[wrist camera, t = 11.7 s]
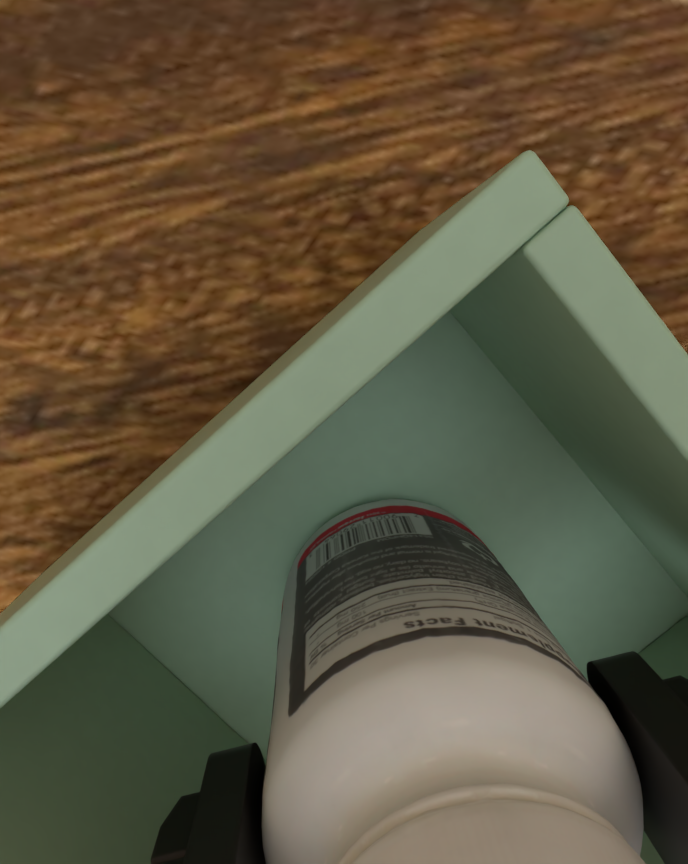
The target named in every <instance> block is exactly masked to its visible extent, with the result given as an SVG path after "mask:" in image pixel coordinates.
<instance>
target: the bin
mask: <svg viewBox="0 0 688 864" xmlns="http://www.w3.org/2000/svg"><path fill="white" fill-rule="evenodd" d="M568 202H569V199H568V196H567V195H566V193H565V192H564V191H563V189H562V188H561V187H560V185H559V184H558V183H557V181H556V180H555V179H554V177H553V176H552V175H551V173H550V172H549V171H548V169H547V168H546V167H545V165H544V164H543V163H542V161H541V160H540V159H539V157H538V156H537V155H536V154H535V153H534V152H533V151H531V150H528V151H525V152H523V153H522V154H520V155H519V156H518V157H516V158H515V159H514V160H512V161H511V162H510V163H508V164H507V165H506V166H504V167H503V168H502V169H500V170H499V171H498V172H497V173H495V174H494V175H493V176H491V177H490V178H489V179H487V180H486V181H485V182H483V183H482V184H481V185H479V186H478V187H477V188H475V189H474V190H473V191H471V192H470V193H469V194H467V195H466V196H465V197H464V198H462V199H461V200H460V201H458V202H457V203H456V204H454V205H453V206H452V207H450V208H449V209H448V210H446V211H445V212H444V213H442V214H441V215H440V216H438V217H437V218H436V219H435V220H433V221H432V222H431V223H429V224H428V225H427V226H425V227H424V228H422V229H421V230H420V231H419V232H418V233H416V234H415V235H414V236H413V237H412V238H411V239H410V240H409V241H408V242H406V243H405V244H404V245H403V246H402V247H401V248H400V249H399V250H398V251H397V252H395V253H394V254H393V255H392V256H391V257H390V258H389V259H388V260H387V261H386V262H384V263H383V264H382V265H381V266H380V267H379V268H378V269H377V270H376V271H375V272H373V273H372V274H371V275H370V276H369V277H368V278H367V279H366V280H365V281H364V282H362V283H361V284H360V285H359V286H358V287H357V288H356V289H355V290H354V291H353V292H351V293H350V294H349V295H348V296H347V297H346V298H345V299H344V300H343V301H342V302H340V303H339V304H338V305H337V306H336V307H335V308H334V309H333V310H332V311H331V312H329V313H328V314H327V315H326V316H325V317H324V318H323V319H322V320H321V321H319V322H318V323H317V324H316V325H315V326H314V327H313V328H312V329H311V330H310V331H308V332H307V333H306V334H305V335H304V336H303V337H302V338H301V339H300V340H299V341H297V342H296V343H295V344H294V345H293V346H292V347H291V348H290V349H289V350H288V351H286V352H285V353H284V354H283V355H282V356H281V357H280V358H279V359H278V360H277V361H275V362H274V363H273V364H272V365H271V366H270V367H269V368H268V369H267V370H266V371H264V372H263V373H262V374H261V375H260V376H259V377H258V378H257V379H256V380H255V381H253V382H252V383H251V384H250V385H249V386H248V387H247V388H246V389H245V390H244V391H242V392H241V393H240V394H239V395H238V396H237V397H236V398H235V399H234V400H233V401H231V402H230V403H229V404H228V405H227V406H226V407H225V408H224V409H223V410H221V411H220V412H219V413H218V414H217V415H216V416H215V417H214V418H213V419H212V420H210V421H209V422H208V423H207V424H206V425H205V426H204V427H203V428H202V429H201V430H199V431H198V432H197V433H196V434H195V435H194V436H193V437H192V438H191V439H190V440H188V441H187V442H186V443H185V444H184V445H183V446H182V447H181V448H180V449H179V450H177V451H176V452H175V453H174V454H173V455H172V456H171V457H170V458H169V459H168V460H166V461H165V462H164V463H163V464H162V465H161V466H160V467H159V468H158V469H157V470H155V471H154V472H153V473H152V474H151V475H150V476H149V477H148V478H147V479H146V480H144V481H143V482H142V483H141V484H140V485H139V486H138V487H137V488H136V489H134V490H133V491H132V492H131V493H130V494H129V495H128V496H127V497H126V498H125V499H123V500H122V501H121V502H120V503H119V504H118V505H117V506H116V507H115V508H114V509H112V510H111V511H110V512H109V513H108V514H107V515H106V516H105V517H104V518H103V519H101V520H100V521H99V522H98V523H97V524H96V525H95V526H94V527H93V528H92V529H90V530H89V531H88V532H87V533H86V534H85V535H84V536H83V537H82V538H81V539H79V540H78V541H77V542H76V543H75V544H74V545H73V546H72V547H71V548H70V549H68V550H67V551H66V552H65V553H64V554H63V555H62V556H61V557H60V558H59V559H57V560H56V561H55V562H54V563H53V564H52V565H51V566H50V567H49V568H48V569H46V570H45V571H44V572H43V573H42V574H41V575H40V576H39V577H38V578H37V579H36V580H35V581H34V582H33V583H32V584H31V585H30V586H29V587H28V588H27V589H26V590H24V591H23V592H22V593H21V594H20V595H19V596H18V597H17V598H16V599H15V600H14V601H13V602H12V603H11V604H10V605H9V606H8V607H7V608H6V609H5V610H4V611H3V612H2V613H1V614H0V864H151V860H150V859H151V856H152V853H153V849H154V846H155V843H156V839H157V836H158V833H159V829H160V826H161V825H162V824H163V822H164V821H165V819H166V818H167V816H168V815H169V813H170V812H171V810H172V809H173V808H174V806H175V805H176V803H177V802H178V800H179V799H180V797H181V796H185V795H189V794H193V793H197V792H200V789H201V785H202V781H203V777H204V772H205V768H206V764H207V760H208V757H209V755H210V754H211V753H214V752H218V751H222V750H226V749H230V748H234V747H238V746H242V745H247V744H251V743H257V744H258V746H259V748H260V750H261V753H262V756H263V759H264V762H265V765H266V759H267V749H268V742H269V736H270V729H271V719H272V709H273V700H274V689H275V676H276V664H277V647H278V637H279V630H280V622H281V612H282V603H283V596H284V591H285V586H286V582H287V578H288V575H289V572H290V570H291V568H292V565H293V562H294V560H295V558H296V557H297V555H298V554H299V552H300V550H301V549H302V547H303V546H304V545H305V543H306V542H307V541H308V540H309V538H310V537H311V536H312V535H313V534H314V533H315V532H316V531H317V530H318V529H319V528H320V527H322V526H323V525H324V524H325V523H327V522H328V521H329V520H331V519H332V518H334V517H336V516H337V515H339V514H341V513H343V512H345V511H347V510H349V509H351V508H353V507H356V506H359V505H363V504H366V503H370V502H375V501H380V500H387V499H404V500H411V501H416V502H421V503H426V504H429V505H433V506H436V507H439V508H441V509H443V510H445V511H447V512H448V513H450V514H452V515H454V516H455V517H456V518H458V519H460V520H461V521H462V522H464V523H465V524H466V525H468V526H469V527H470V528H471V529H472V530H473V531H474V532H475V533H476V534H477V535H478V536H479V537H480V538H481V540H482V541H483V542H484V543H485V545H486V546H487V547H488V549H489V550H490V551H491V552H492V553H493V554H494V556H495V557H496V558H497V560H498V561H499V562H500V563H501V564H502V566H503V568H504V569H505V570H506V572H507V573H508V574H509V575H510V576H511V578H512V579H513V580H514V581H515V583H516V584H517V585H518V587H519V588H520V589H521V591H522V592H523V594H524V595H525V597H526V598H527V600H528V601H529V603H530V604H531V605H532V607H533V608H534V609H535V611H536V612H537V613H538V615H539V617H540V618H541V619H542V621H543V622H544V623H545V625H546V626H547V627H548V628H549V630H550V631H551V632H552V634H553V635H554V636H555V638H556V639H557V641H558V642H559V643H560V645H561V646H562V647H563V649H564V650H565V652H566V653H567V655H568V656H569V657H570V658H571V660H572V661H573V663H574V664H575V665H576V667H577V668H578V669H579V670H580V672H581V673H582V674H583V675H584V677H585V678H586V679H587V681H588V677H587V663H588V662H589V661H593V660H598V659H602V658H606V657H610V656H614V655H618V654H622V653H626V652H630V651H634V652H636V653H638V654H639V655H640V656H641V657H642V658H643V659H644V660H645V661H646V662H647V664H648V665H649V666H650V667H651V668H652V669H653V670H654V671H655V672H656V673H657V674H658V675H659V676H660V677H661V679H662V680H663V679H667V678H671V677H675V676H679V675H681V676H683V677H684V678H686V679H688V354H687V353H686V352H685V350H684V349H683V348H682V346H681V345H680V344H679V342H678V341H677V340H676V338H675V337H674V336H673V334H672V333H671V332H670V330H669V329H668V328H667V326H666V325H665V324H664V322H663V321H662V320H661V318H660V317H659V316H658V314H657V313H656V312H655V310H654V309H653V308H652V306H651V305H650V304H649V303H648V301H647V300H646V299H645V297H644V296H643V295H642V293H641V292H640V291H639V289H638V288H637V287H636V285H635V284H634V283H633V281H632V280H631V279H630V277H629V276H628V275H627V273H626V272H625V271H624V269H623V268H622V267H621V265H620V264H619V263H618V261H617V260H616V259H615V257H614V256H613V255H612V254H611V252H610V251H609V250H608V248H607V247H606V246H605V244H604V243H603V242H602V240H601V239H600V238H599V236H598V235H597V234H596V232H595V231H594V230H593V228H592V227H591V226H590V224H589V223H588V222H587V220H586V219H585V218H584V216H583V215H582V214H581V212H580V211H579V210H578V209H577V208H576V207H575V206H573V205H571V206H568V207H566V206H567V204H568ZM640 857H641V859H642V860H643V861H644V862H645V863H646V864H665V863H664V862H663V860H662V859H661V857H660V855H659V854H658V852H657V851H656V849H655V847H654V846H653V844H652V843H651V841H650V839H649V838H648V836H647V835H646V833H645V831H644V830H643V839H642V848H641V853H640Z"/></svg>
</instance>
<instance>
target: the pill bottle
mask: <svg viewBox="0 0 688 864" xmlns="http://www.w3.org/2000/svg"><path fill="white" fill-rule="evenodd" d="M261 828H262V842H263V851H264V856H265V862H266V864H646V863H645V862H644V861H643V860H642V859H641V857H640V853H641V848H642V839H643V829H644V821H643V798H642V789H641V783H640V778H639V775H638V771H637V768H636V764H635V762H634V759H633V756H632V753H631V751H630V748H629V746H628V744H627V742H626V740H625V738H624V736H623V734H622V732H621V731H620V729H619V727H618V726H617V724H616V722H615V721H614V719H613V717H612V715H611V713H610V711H609V709H608V708H607V706H606V705H605V703H604V702H603V700H602V699H601V698H600V697H599V695H598V694H597V693H596V692H595V690H594V689H593V688H592V686H591V685H590V684H589V682H588V681H587V679H586V678H585V677H584V675H583V674H582V673H581V672H580V670H579V669H578V668H577V667H576V665H575V664H574V663H573V661H572V660H571V658H570V657H569V656H568V655H567V653H566V652H565V650H564V649H563V647H562V646H561V645H560V643H559V642H558V641H557V639H556V638H555V636H554V635H553V634H552V632H551V631H550V630H549V628H548V627H547V626H546V625H545V623H544V622H543V621H542V619H541V618H540V617H539V615H538V613H537V612H536V611H535V609H534V608H533V607H532V605H531V604H530V603H529V601H528V600H527V598H526V597H525V595H524V594H523V592H522V591H521V589H520V588H519V587H518V585H517V584H516V583H515V581H514V580H513V579H512V578H511V576H510V575H509V574H508V573H507V572H506V570H505V569H504V568H503V566H502V564H501V563H500V562H499V561H498V560H497V558H496V557H495V556H494V554H493V553H492V552H491V551H490V550H489V549H488V547H487V546H486V545H485V543H484V542H483V541H482V540H481V538H480V537H479V536H478V535H477V534H476V533H475V532H474V531H473V530H472V529H471V528H470V527H469V526H468V525H466V524H465V523H464V522H462V521H461V520H460V519H458V518H456V517H455V516H454V515H452V514H450V513H448V512H447V511H445V510H443V509H441V508H439V507H436V506H433V505H429V504H426V503H421V502H416V501H411V500H404V499H387V500H380V501H375V502H370V503H366V504H363V505H359V506H356V507H353V508H351V509H349V510H347V511H345V512H343V513H341V514H339V515H337V516H336V517H334V518H332V519H331V520H329V521H328V522H327V523H325V524H324V525H323V526H322V527H320V528H319V529H318V530H317V531H316V532H315V533H314V534H313V535H312V536H311V537H310V538H309V540H308V541H307V542H306V543H305V545H304V546H303V547H302V549H301V550H300V552H299V554H298V555H297V557H296V558H295V560H294V562H293V565H292V568H291V570H290V572H289V575H288V578H287V582H286V586H285V591H284V596H283V603H282V612H281V622H280V630H279V637H278V647H277V664H276V676H275V689H274V700H273V709H272V719H271V729H270V736H269V742H268V749H267V759H266V767H265V773H264V780H263V790H262V823H261Z"/></svg>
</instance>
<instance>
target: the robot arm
mask: <svg viewBox="0 0 688 864" xmlns="http://www.w3.org/2000/svg"><path fill="white" fill-rule="evenodd" d="M587 677H588V682H589V684H590V685H591V686H592V688H593V689H594V690H595V692H596V693H597V694H598V695H599V697H600V698H601V699H602V700H603V702H604V703H605V705H606V706H607V708H608V709H609V711H610V713H611V715H612V717H613V719H614V721H615V722H616V724H617V726H618V727H619V729H620V731H621V732H622V734H623V736H624V738H625V740H626V742H627V744H628V746H629V748H630V751H631V753H632V756H633V759H634V762H635V764H636V768H637V771H638V775H639V778H640V783H641V789H642V798H643V821H644V829H643V830H644V831H645V833H646V835H647V836H648V838H649V839H650V841H651V843H652V844H653V846H654V847H655V849H656V851H657V852H658V854H659V855H660V857H661V859H662V860H663V862H664V863H665V864H688V679H686V678H684V677H683V676H681V675H679V676H675V677H671V678H667V679H663V680H662V679H661V677H660V676H659V675H658V674H657V673H656V672H655V671H654V670H653V669H652V668H651V667H650V666H649V665H648V664H647V662H646V661H645V660H644V659H643V658H642V657H641V656H640V655H639V654H638V653H636V652H634V651H630V652H626V653H622V654H618V655H614V656H610V657H606V658H602V659H598V660H593V661H589V662H588V663H587ZM265 767H266V765H265V762H264V759H263V756H262V753H261V750H260V748H259V746H258V744H257V743H251V744H247V745H242V746H238V747H234V748H230V749H226V750H222V751H218V752H214V753H211V754H210V755H209V757H208V760H207V764H206V768H205V772H204V777H203V781H202V785H201V789H200V792H197V793H193V794H189V795H185V796H181V797H180V799H179V800H178V802H177V803H176V805H175V806H174V808H173V809H172V810H171V812H170V813H169V815H168V816H167V818H166V819H165V821H164V822H163V824H162V825H161V826H160V829H159V833H158V836H157V839H156V843H155V846H154V849H153V853H152V856H151V859H150V860H151V864H266V862H265V856H264V851H263V842H262V828H261V823H262V790H263V780H264V773H265Z"/></svg>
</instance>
